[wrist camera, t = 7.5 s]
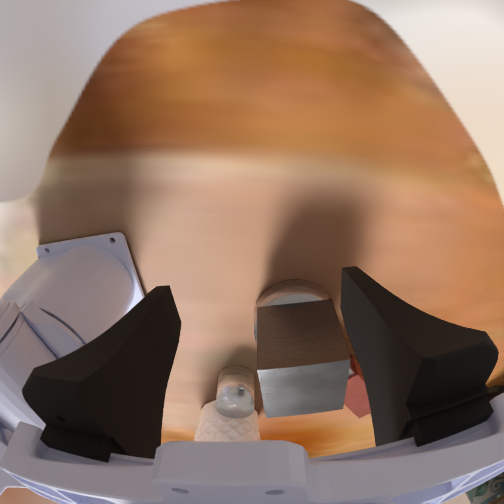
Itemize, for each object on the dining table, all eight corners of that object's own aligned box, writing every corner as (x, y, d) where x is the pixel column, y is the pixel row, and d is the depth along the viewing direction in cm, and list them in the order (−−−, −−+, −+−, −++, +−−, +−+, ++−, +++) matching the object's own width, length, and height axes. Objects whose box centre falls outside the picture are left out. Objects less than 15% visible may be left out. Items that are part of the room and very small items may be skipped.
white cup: (270, 400, 32) (273, 480, 23) (254, 432, 35) (253, 500, 26) (199, 390, 31) (187, 471, 22) (193, 423, 34) (183, 492, 26)
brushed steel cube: (264, 357, 25) (265, 417, 19) (256, 306, 22) (257, 370, 17) (329, 350, 24) (342, 408, 19) (331, 298, 22) (350, 359, 17)
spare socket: (222, 388, 31) (219, 419, 27) (215, 366, 29) (211, 399, 25) (256, 386, 30) (256, 417, 27) (252, 364, 29) (251, 397, 25)
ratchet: (238, 306, 25) (235, 354, 20) (305, 265, 23) (317, 310, 19) (343, 406, 32) (351, 445, 28) (391, 383, 31) (404, 420, 26)
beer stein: (415, 435, 38) (449, 562, 16) (510, 359, 31) (576, 487, 9) (450, 444, 43) (480, 542, 21) (526, 383, 35) (574, 480, 13)
